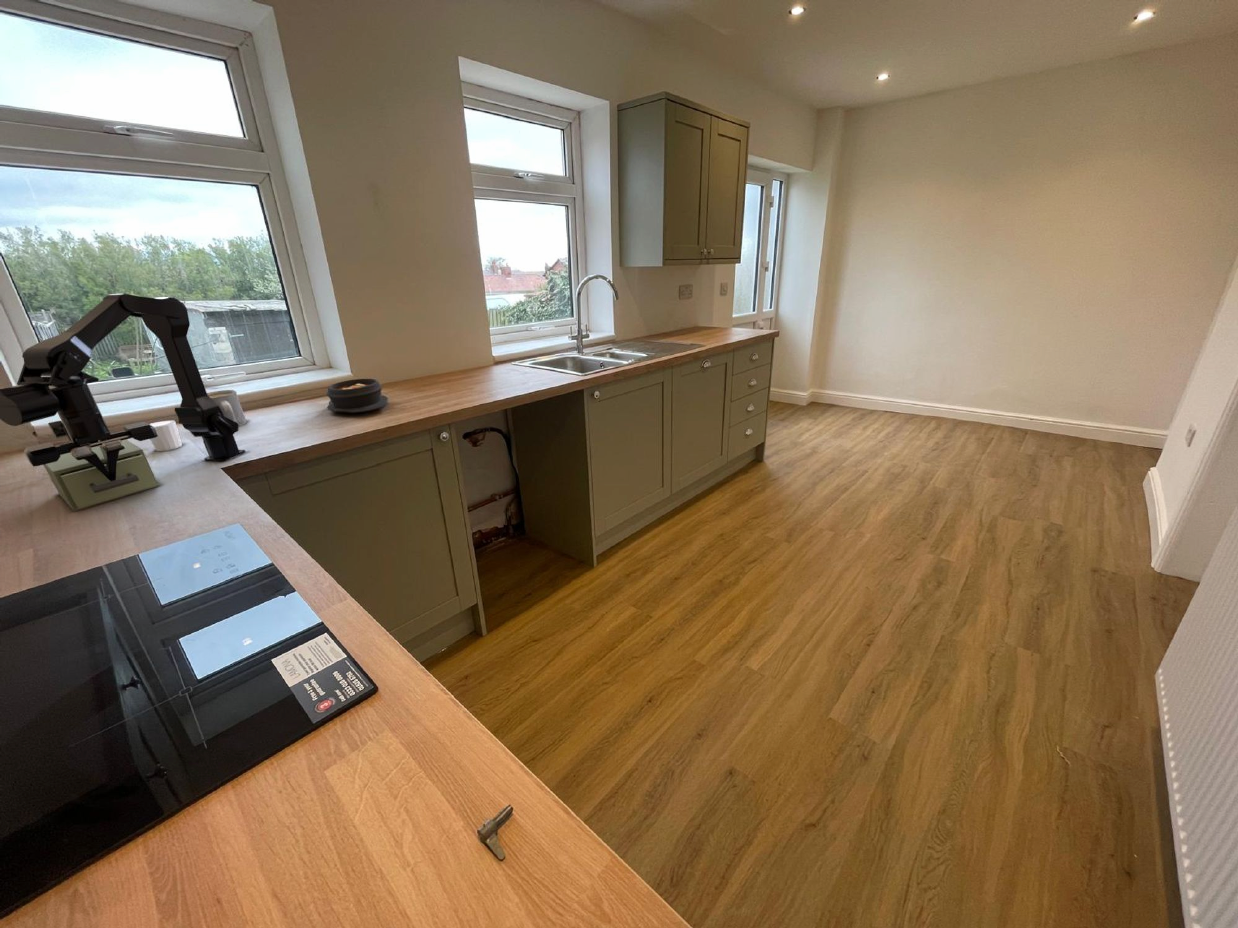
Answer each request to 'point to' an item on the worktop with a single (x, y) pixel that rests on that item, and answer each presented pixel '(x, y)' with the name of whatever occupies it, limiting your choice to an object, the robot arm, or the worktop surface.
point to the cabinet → (71, 464)
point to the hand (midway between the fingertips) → (112, 480)
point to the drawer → (108, 481)
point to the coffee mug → (229, 405)
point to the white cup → (166, 435)
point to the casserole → (356, 396)
